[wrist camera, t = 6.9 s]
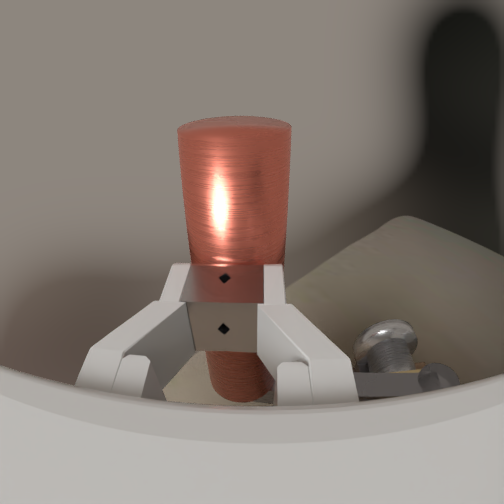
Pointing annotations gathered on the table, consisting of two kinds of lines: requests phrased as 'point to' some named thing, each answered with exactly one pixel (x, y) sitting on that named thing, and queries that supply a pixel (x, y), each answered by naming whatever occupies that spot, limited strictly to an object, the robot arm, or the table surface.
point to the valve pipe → (386, 348)
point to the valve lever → (256, 238)
